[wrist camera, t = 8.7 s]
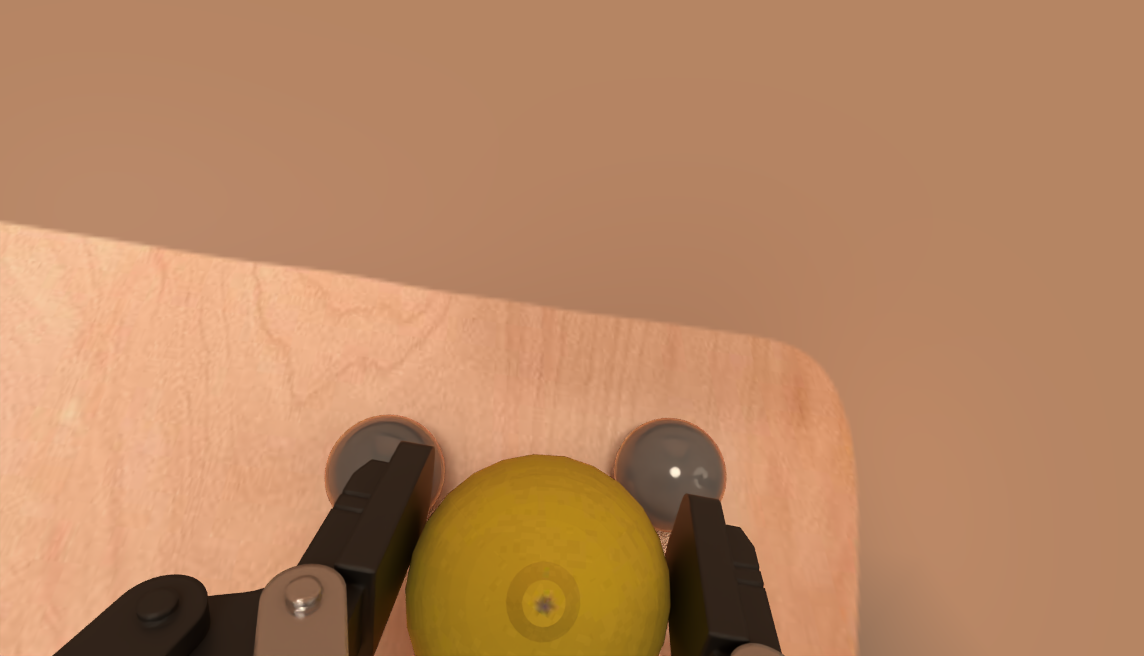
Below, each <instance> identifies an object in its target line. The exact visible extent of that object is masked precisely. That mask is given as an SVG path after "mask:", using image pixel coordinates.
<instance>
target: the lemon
mask: <svg viewBox="0 0 1144 656" xmlns="http://www.w3.org/2000/svg"><path fill="white" fill-rule="evenodd" d="M405 594H406V617H407V629H408V633H409V636H410V640H411V643H412V647H413V650H414V653H415V656H658V655H659V653H660V651H661V648H662V646H663V644H664V640H665V635H666V629H667V624H668V619H669V613H670V608H671V600H670V581H669V569H668V566H667V562H666V559H665V555H664V552H663V548H662V545H661V541H660V538H659V536H658V534H657V532H656V530H655V529H654V527H653V525H652V523H651V521H650V520H649V518H648V516H647V514H646V512H645V511H644V509H643V507H642V506H641V505H640V504H639V503H638V502H637V501H636V500H635V499H634V497H633V496H632V495H631V494H630V493H629V492H628V491H627V490H626V489H625V488H624V487H623V486H622V485H621V484H620V483H619V482H617V481H616V480H614V479H613V478H611V477H610V476H608V475H606V474H605V473H603V472H602V471H600V470H599V469H597V468H596V467H594V466H591V465H588V464H585V463H582V462H580V461H577V460H574V459H571V458H568V457H565V456H551V455H537V454H533V455H527V456H522V457H517V458H511V459H506V460H502V461H500V462H498V463H495V464H493V465H491V466H489V467H487V468H484V469H482V470H480V471H478V472H476V473H474V474H472V475H471V476H470V477H469V478H467V479H466V480H465V481H464V482H462V483H461V484H460V485H459V486H457V487H456V488H455V489H454V490H452V491H451V492H450V493H449V494H448V495H447V496H446V497H445V498H444V500H443V501H442V502H441V504H440V505H439V506H438V508H437V509H436V510H435V511H434V513H433V514H432V515H431V517H430V518H429V519H428V521H427V522H426V524H425V527H424V529H423V531H422V533H421V535H420V538H419V540H418V542H417V544H416V546H415V549H414V551H413V553H412V557H411V562H410V567H409V573H408V578H407V583H406V588H405Z"/></svg>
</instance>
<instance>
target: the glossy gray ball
mask: <svg viewBox="0 0 1144 656" xmlns="http://www.w3.org/2000/svg"><path fill="white" fill-rule="evenodd" d="M614 480H616V481H617V482H619V483H620V484H621V485H622V486H623V487H624V488H625V489H626V490H627V491H628V492H629V493H630V494H631V495H632V496H633V497H634V499H635V500H636V501H637V502H638V503H639V504H640V505H641V506H642V507H643V509H644V511H645V512H646V514H647V516H648V518H649V520H650V521H651V523H652V525H653V527H654V529H655V530H658V531H663V532H672V529H673V526H674V522H675V519H676V516H677V513H678V510H679V507H680V504H681V501H682V498H683V496H684V495H685V494H686V493H687V494H693V495H698V496H704V497H709V498H715V499H719V500H720V502H721V501H722V498H723V496H724V492H725V488H726V467H725V462H724V459H723V456H722V454H721V451H720V450H719V448H718V446H717V444H716V443H715V442H714V440H713V439H712V438H711V437H710V436H709V435H708V434H707V433H706V432H705V431H704V430H703V429H701V428H700V427H698V426H696V425H694V424H692V423H690V422H688V421H685V420H681V419H675V418H660V419H655V420H652V421H649V422H646V423H644V424H642V425H640V426H639V427H637V428H636V429H635V430H633V431H632V432H631V433H630V434H629V435H628V436H627V438H626V439H625V440H624V442H623V443H622V445H621V446H620V448H619V451H618V453H617V456H616V459H615V464H614Z"/></svg>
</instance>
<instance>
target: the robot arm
mask: <svg viewBox="0 0 1144 656" xmlns="http://www.w3.org/2000/svg"><path fill="white" fill-rule="evenodd" d="M434 461H435V447H434V446H429V445H424V444H418V443H413V442H408V441H401V442H400V443H399V444H398V446H397V448H396V450H395V452H394V454H393V455H392V457H391V459H390V461H389V462H385V461H379V460H374V459H371V460H370V461H369V462H367V463H366V464H365V465H363V466H362V467H360V468H359V469H358V470H356V471H355V472H354V473H353V474H352V476H351V477H350V479H349V481H348V482H347V484H346V486H345V487H344V489H343V491H342V494H340V495H339V497H338V499H337V500H336V502H335V504H334V507H333V509H331V510H330V512H329V514H328V515H327V517H326V519H325V520H324V522H323V524H322V525H321V527H320V529H319V530H318V532H317V534H316V535H315V537H314V539H313V540H312V542H311V544H310V545H309V547H308V549H307V550H306V552H305V553H304V555H303V557H302V558H301V560H300V562H299V563H298V565H297V566H295V567H292V568H289V569H287V570H285V571H283V572H281V573H280V574H278V575H277V576H275V577H274V578H273V579H272V580H271V581H270V582H269V583H268V584H267V585H266V587H265V588H262V589H259V590H255V591H250V592H244V593H234V594H224V595H214V596H208V595H207V591H206V588H205V587H204V585H203V584H202V583H201V582H200V581H199V580H197V579H195V578H193V577H190V576H186V575H165V576H160V577H156V578H152V579H150V580H147V581H144V582H142V583H140V584H138V585H136V586H135V587H133V588H131V589H130V590H128V591H127V592H126V593H124V594H123V595H122V596H121V597H120V598H118V599H117V600H116V601H115V602H114V603H113V604H112V605H110V606H109V607H108V608H107V609H106V610H105V611H104V612H102V613H101V614H100V615H99V616H98V617H97V618H95V619H94V620H93V621H92V622H91V623H90V624H89V625H87V626H86V627H85V628H84V629H83V630H82V631H81V632H79V633H78V634H77V635H76V636H75V637H74V638H72V639H71V640H70V641H69V642H68V643H67V644H66V645H64V646H63V647H62V648H61V649H60V650H59V651H58V652H56V653H55V654H54V655H53V656H374V654H375V652H376V649H377V647H378V644H379V641H380V639H381V636H382V634H383V631H384V629H385V626H386V624H387V621H388V619H389V616H390V613H391V611H392V608H393V606H394V603H395V601H396V598H397V596H398V593H399V591H400V588H401V586H402V583H403V580H404V578H405V575H406V573H407V570H408V568H409V565H410V562H411V557H412V553H413V551H414V549H415V546H416V544H417V542H418V540H419V538H420V535H421V533H422V531H423V529H424V527H425V524H426V520H427V517H428V513H429V508H430V502H431V493H432V483H433V472H434ZM665 559H666V562H667V566H668V569H669V581H670V600H671V608H670V613H669V619H668V623H669V635H670V647H671V656H784V655H783V654H782V652H781V649H780V645H779V641H778V637H777V633H776V629H775V625H774V621H773V618H772V614H771V610H770V606H769V602H768V598H767V594H766V591H765V588H763V585H764V583H763V579H762V575H761V571H759V564H758V560H757V556H756V552H755V548H754V546H753V544H752V543H751V542H750V540H749V539H748V537H747V536H746V535H745V533H744V532H743V530H742V529H741V528H740V527H736V526H730V525H725V520H724V515H723V510H722V506H721V502H720V500H719V499H715V498H709V497H704V496H698V495H693V494H687V493H686V494H685V495H684V496H683V498H682V501H681V504H680V507H679V510H678V513H677V516H676V519H675V522H674V526H673V529H672V532H671V535H670V538H669V541H668V544H667V549H666V555H665Z"/></svg>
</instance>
